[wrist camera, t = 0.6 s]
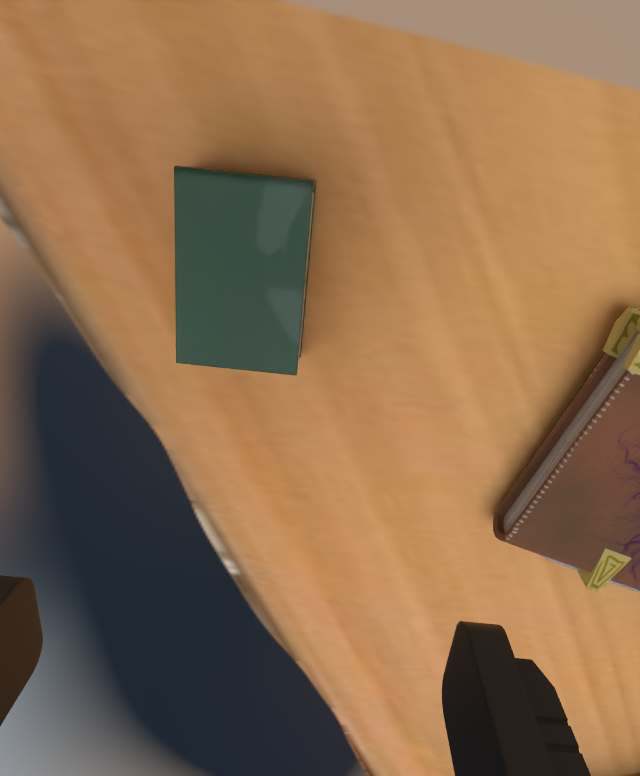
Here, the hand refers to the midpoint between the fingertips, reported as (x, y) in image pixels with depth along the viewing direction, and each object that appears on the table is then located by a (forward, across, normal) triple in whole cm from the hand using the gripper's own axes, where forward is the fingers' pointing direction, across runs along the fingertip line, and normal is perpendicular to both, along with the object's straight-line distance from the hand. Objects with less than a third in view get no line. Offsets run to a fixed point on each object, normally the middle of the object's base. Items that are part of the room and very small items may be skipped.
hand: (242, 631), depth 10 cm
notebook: (+20, +3, -3) cm, 20 cm away
